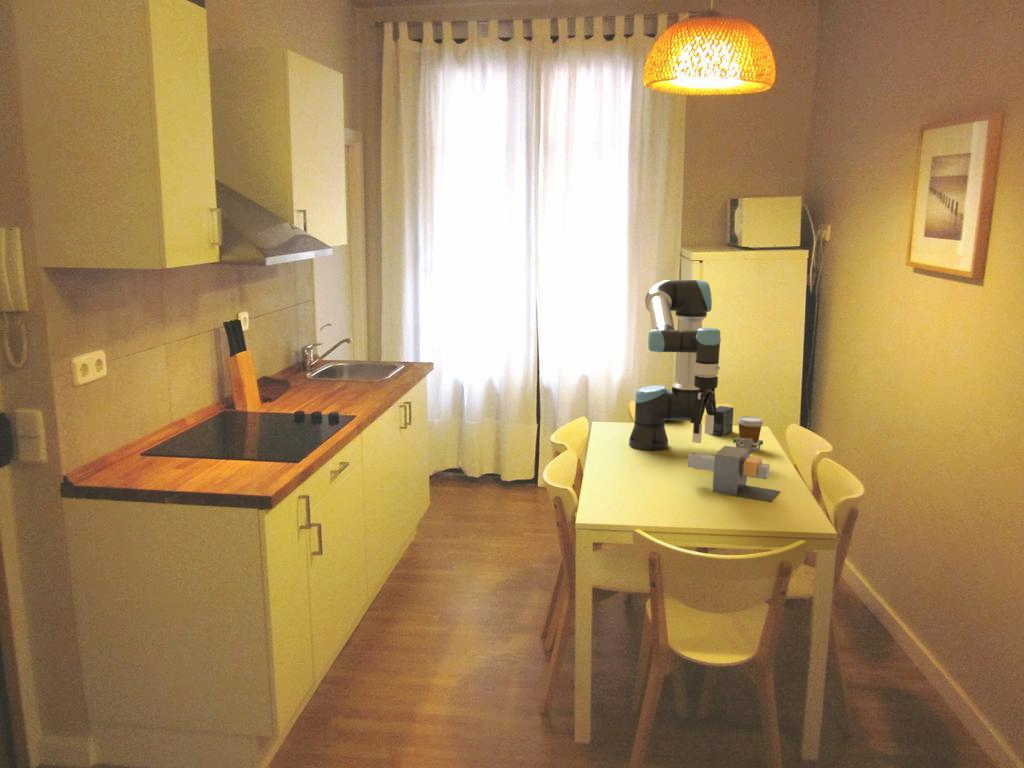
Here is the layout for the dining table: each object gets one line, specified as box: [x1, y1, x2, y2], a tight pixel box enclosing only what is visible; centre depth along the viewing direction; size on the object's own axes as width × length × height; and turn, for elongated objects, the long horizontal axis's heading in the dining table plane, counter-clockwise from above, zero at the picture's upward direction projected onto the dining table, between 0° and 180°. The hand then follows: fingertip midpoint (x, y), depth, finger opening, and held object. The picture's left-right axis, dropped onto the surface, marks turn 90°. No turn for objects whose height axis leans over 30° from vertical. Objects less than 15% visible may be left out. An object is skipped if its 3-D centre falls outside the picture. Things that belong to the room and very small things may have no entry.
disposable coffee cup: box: [737, 415, 764, 452], centre depth 328 cm, size 10×10×12 cm
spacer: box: [743, 455, 763, 476], centre depth 276 cm, size 4×7×4 cm, turn 151°
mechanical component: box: [732, 436, 764, 457], centre depth 306 cm, size 3×10×10 cm, turn 78°
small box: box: [711, 405, 734, 437], centre depth 351 cm, size 11×6×10 cm, turn 144°
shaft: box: [687, 452, 771, 480], centre depth 280 cm, size 26×4×4 cm, turn 61°
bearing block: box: [712, 445, 749, 498], centre depth 280 cm, size 8×12×13 cm, turn 151°
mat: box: [737, 484, 781, 503], centre depth 276 cm, size 12×12×1 cm
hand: (702, 438), depth 282 cm, fingers open, 13 cm apart
